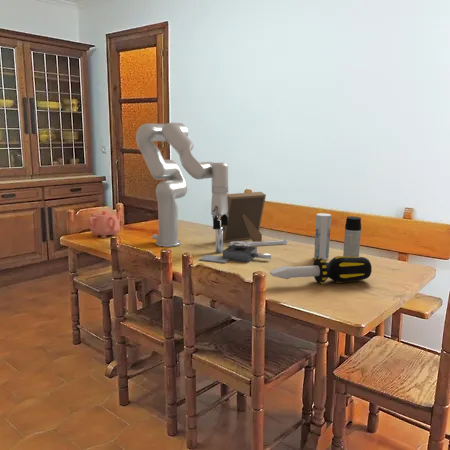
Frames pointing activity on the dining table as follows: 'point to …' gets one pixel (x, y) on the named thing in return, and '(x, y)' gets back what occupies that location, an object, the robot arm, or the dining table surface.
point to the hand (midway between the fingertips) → (220, 227)
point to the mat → (214, 259)
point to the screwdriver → (329, 270)
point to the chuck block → (243, 253)
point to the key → (219, 240)
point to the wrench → (259, 243)
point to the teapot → (105, 223)
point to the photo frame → (244, 217)
